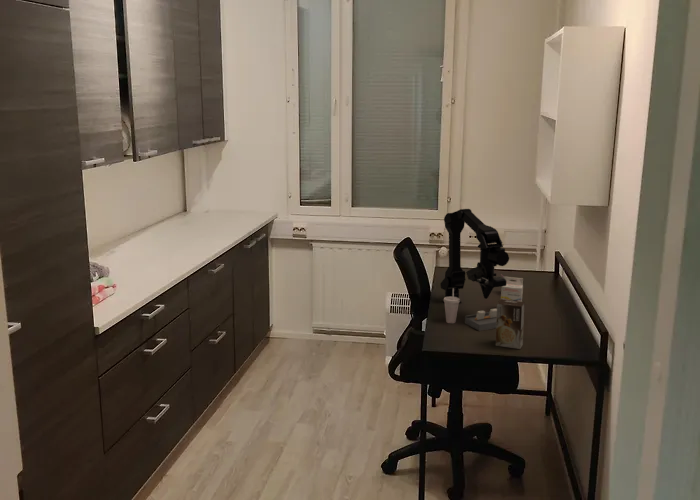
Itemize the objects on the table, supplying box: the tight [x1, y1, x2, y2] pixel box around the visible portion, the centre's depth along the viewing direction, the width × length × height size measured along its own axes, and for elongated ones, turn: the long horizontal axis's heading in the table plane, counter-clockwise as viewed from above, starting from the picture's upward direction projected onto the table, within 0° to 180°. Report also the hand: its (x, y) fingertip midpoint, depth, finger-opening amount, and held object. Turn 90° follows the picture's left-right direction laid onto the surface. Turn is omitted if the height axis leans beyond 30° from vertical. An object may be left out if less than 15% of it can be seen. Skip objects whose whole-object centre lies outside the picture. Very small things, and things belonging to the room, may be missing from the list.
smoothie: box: [443, 288, 461, 324], centre depth 269 cm, size 6×6×14 cm
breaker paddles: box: [475, 308, 497, 320], centre depth 267 cm, size 1×16×4 cm, turn 114°
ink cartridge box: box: [500, 276, 524, 302], centre depth 280 cm, size 9×5×15 cm, turn 71°
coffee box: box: [495, 298, 526, 350], centre depth 244 cm, size 9×6×16 cm
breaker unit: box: [464, 311, 497, 332], centre depth 268 cm, size 10×19×3 cm, turn 114°
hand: (485, 298), depth 270 cm, fingers closed
